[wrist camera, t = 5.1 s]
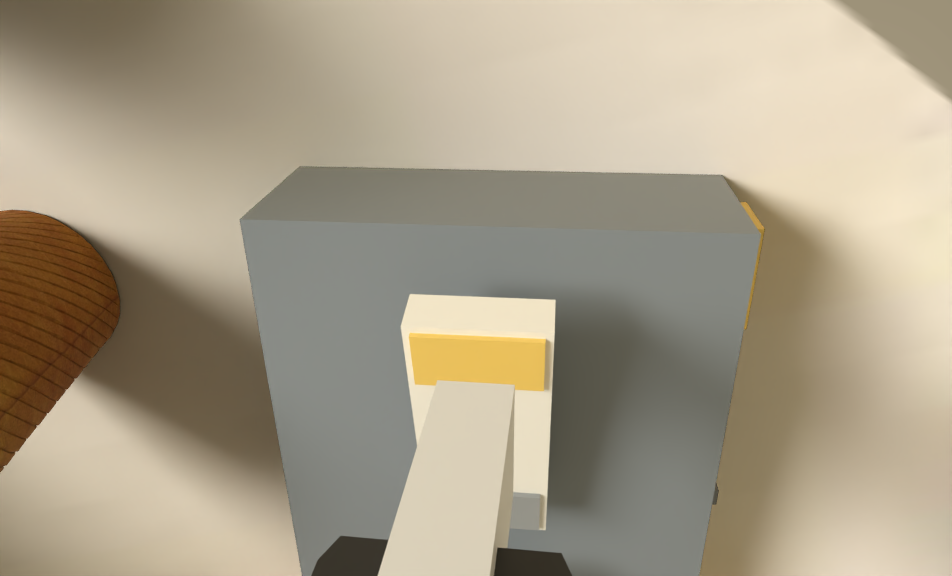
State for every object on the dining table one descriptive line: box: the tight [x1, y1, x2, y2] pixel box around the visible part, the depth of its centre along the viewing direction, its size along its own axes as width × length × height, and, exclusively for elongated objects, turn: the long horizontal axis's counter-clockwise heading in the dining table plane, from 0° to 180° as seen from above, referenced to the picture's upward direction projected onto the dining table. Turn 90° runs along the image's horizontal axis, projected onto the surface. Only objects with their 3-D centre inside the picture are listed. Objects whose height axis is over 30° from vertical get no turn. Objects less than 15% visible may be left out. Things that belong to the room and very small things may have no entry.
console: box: [240, 167, 765, 576], centre depth 25 cm, size 14×20×6 cm
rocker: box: [401, 294, 556, 530], centre depth 19 cm, size 4×8×1 cm, turn 1°
